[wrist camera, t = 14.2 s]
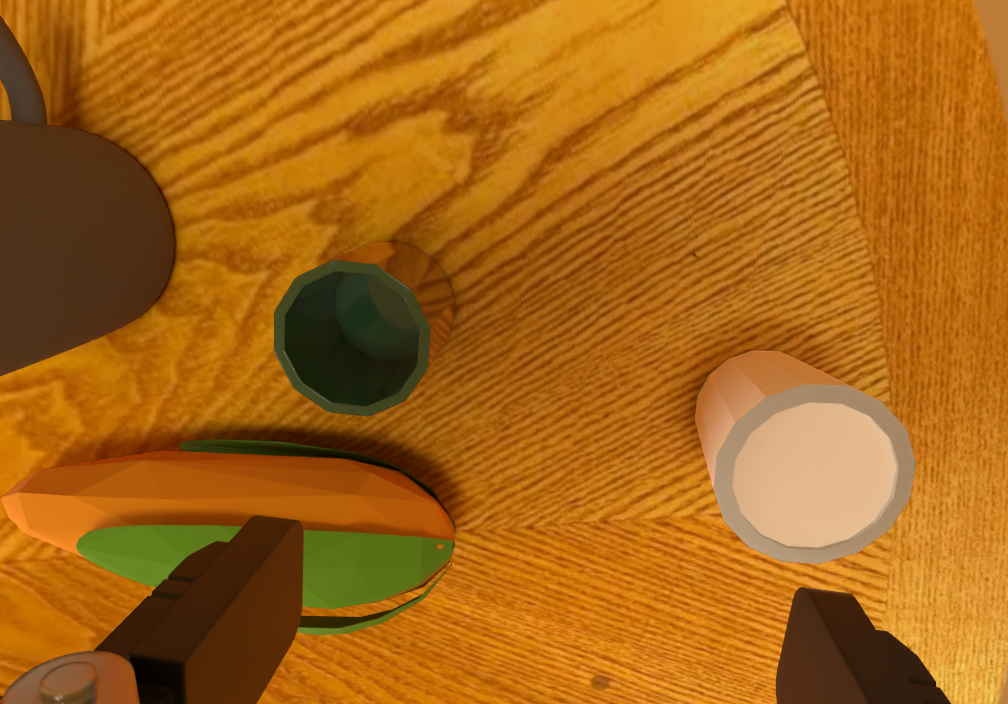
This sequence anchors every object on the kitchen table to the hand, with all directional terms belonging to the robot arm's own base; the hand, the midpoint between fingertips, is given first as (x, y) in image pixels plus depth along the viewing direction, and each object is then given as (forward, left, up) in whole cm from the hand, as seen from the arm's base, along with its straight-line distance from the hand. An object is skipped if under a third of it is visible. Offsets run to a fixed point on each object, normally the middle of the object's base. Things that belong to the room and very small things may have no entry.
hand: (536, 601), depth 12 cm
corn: (+13, +10, -21) cm, 26 cm away
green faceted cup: (+7, 0, -20) cm, 22 cm away
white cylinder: (-10, +3, -21) cm, 23 cm away
